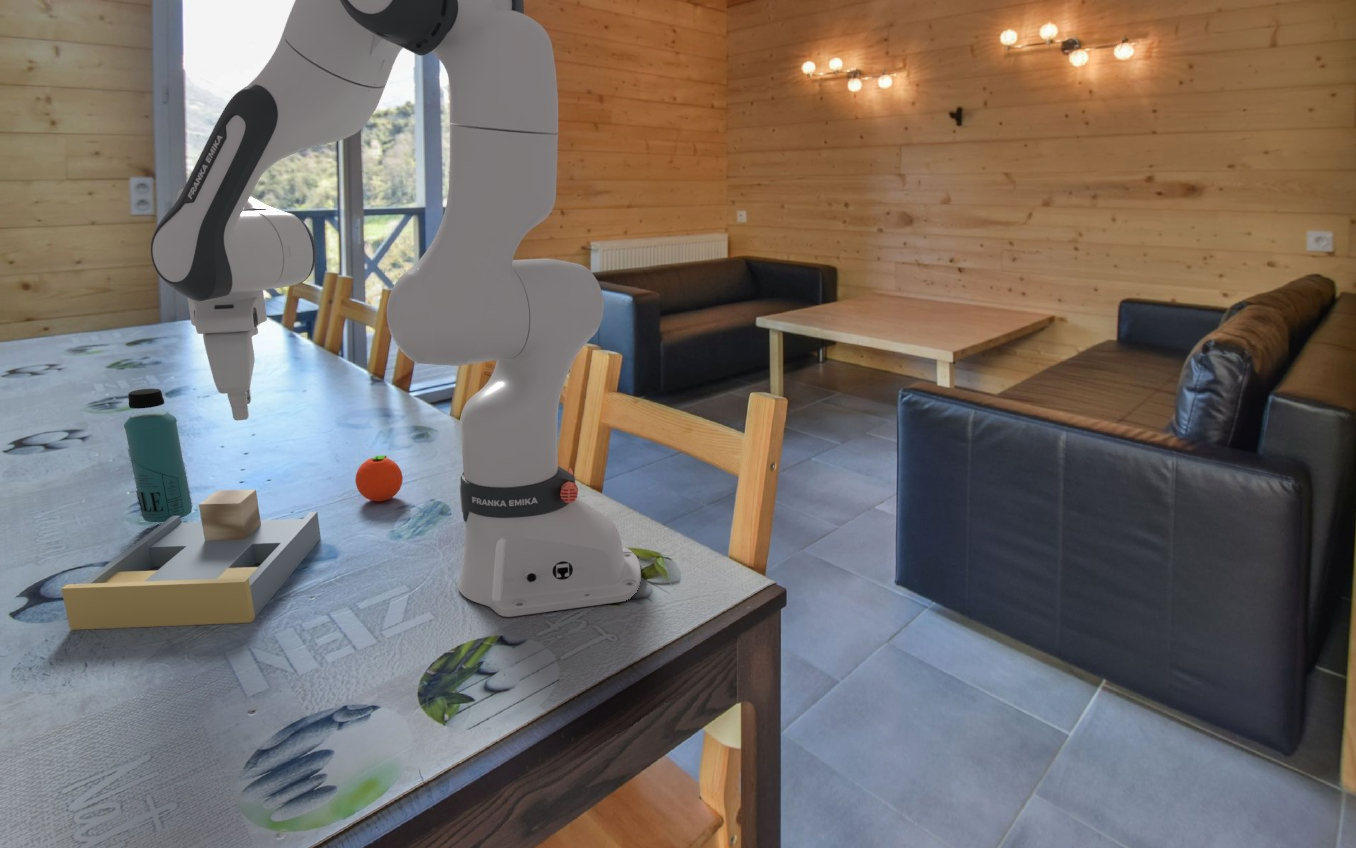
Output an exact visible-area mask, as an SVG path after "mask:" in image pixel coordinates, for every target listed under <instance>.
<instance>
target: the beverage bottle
mask: <svg viewBox="0 0 1356 848" xmlns="http://www.w3.org/2000/svg"><path fill="white" fill-rule="evenodd" d="M127 395H128V398H127V399H128V406H129V408H130V409H148V408H149V409H151V408H155V407H159V406H162V405H165V399H164V396H163V393H162V390H161V389H160V388H142V389H135V390H132V391H129V392H128V394H127ZM123 427H124V431H125V434H126V440H127V446H126V449H127V452H128V456H129V461H130V465H131V468H132V471H133V480H134V483H135V492H136V497H137V504H138V506H139V507H138V508H139V512H140V517H142V518H143V520H144V521H145V522H149V523H163V522H165V521H166V520H168V519H169V518H170V517H172V516H180V518H181V519H182V518H185V517H186V516H189V514H190V513H191V512H192V510H193V509H192V507H193V506H194V505H193V500H192V494H191V493H192V492H191V490H190V489H191V488H190V485H189V480H188V478H189V477H188V475H187V473H188V471H187V469H186V464H185V462H184V459H183V453H182V446H181V442H180V441H181V440H180V435H179V430H178V425H177V418H176V417H175V416H174V415H172V414H171V413H169V412H167V411H165V410H159V409H158V410H147V411H141V412H138V413H137V412H136V413H134V414H131V416H130V417H128V419H127V420H126V421H125V422H124V424H123Z"/></svg>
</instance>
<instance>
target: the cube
mask: <svg viewBox="0 0 1356 848" xmlns="http://www.w3.org/2000/svg"><path fill="white" fill-rule="evenodd" d="M198 508H199V514H200V520H201V521H200V522H202V527H203V533H204V539H205V541H209V540H240V539H246V538H247V537H248V536H249V535H250V534H251V533H252V532H253V531H254V530H256V529H257V528H258V527H259V526H260V525H261V521H260V520H261V515H260V508H259V502H258V495H257V489H228V490H225V489H224V490H216V491H214V492H213V493H212V494H210V495H209V496H208V497H206V498H205V499H204V500H202V501H201V502H200V503H199V504H198Z"/></svg>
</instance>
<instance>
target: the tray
mask: <svg viewBox="0 0 1356 848" xmlns="http://www.w3.org/2000/svg"><path fill="white" fill-rule="evenodd" d="M318 513H319V512H318V511H309V512H308V513H307V514H306V515H305V517H303V518H291V519H290V518H288V519H285V518H283V519H260V521H261V525H260V526H259V527H258V528H257V529H256V530H254V531H253V532H252V533H251V534H250V535H249V536H248V537H247V538H246V539H240V540H209V541H205V539H204V533H203V527H202V521H188V522H186V521H185V522H182V518H180V516H172V517H170V518H169V519H168V520H166V521H165V522H161V524H159V525H158V526H157V527H155V528H154V529H152V531H150V532H149V533H147V534H146V535H145V536H143V537H142V538H140V539H139V540H138V541H137V542H135V543H134V544H132V545H131V546H130V547H128V548H127V549H126V550H124V551H123V552H122V553H120V554H119V555H118V556H116V557H115V558H114V559H112V560H110V561H109V562H108V563H107V564H106V565H104V566H102V568H100V569H99V570H97V571H96V572H95V573H93V574H92V575H91V576H89V577H88V578H87V579H85V580H84V581H83V582H81V583H66V585H64V586H63V587H61V595H62V599H63V603H64V607H65V611H66V616H67V620H68V624H69V628H70V629H69V630H70V631H77V630H99V629H101V630H102V629H122V628H123V629H124V628H127V629H128V628H149V627H151V628H153V627H173V626H175V627H176V626H177V627H178V626H196V625H200V626H201V625H221V624H222V625H225V624H244V623H245V624H246V623H247V624H249V623H252V622H253V621H254V620H255V619H256V618H257V616H258V615H260V613H261V612H262V611H263V609H264V608H265V607H266V605H267V604H268V603H269V602H270V601H271V599H273V597H274V595H276V593H277V592H278V591H279V590H280V589H281V588H282V586H283V585H284V583H285V582H286V581H287V580H288V579H289V578H290V576H291V575H292V574H293V573H294V572H295V570H296V569H297V568H298V567H299V565H300V564H301V563H302V562H303V561H304V559H305V558H306V557H307V556H308V555H309V553H310V552H311V551H312V550H313V549H314V547H315V546H316V545H317V544H318V543H319V541H320V540H321V539H322V538H321V530H320V523H319V522H320V521H319V515H318Z"/></svg>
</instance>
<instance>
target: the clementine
mask: <svg viewBox="0 0 1356 848" xmlns="http://www.w3.org/2000/svg"><path fill="white" fill-rule="evenodd" d="M354 478H355V485H356V488H357V490H358V492H359V495H361V496H362V497H364V499H367V500H369V501H372V502H384V501H388V500H391V499H392V498H393V497H394V496H396V495H397V494H398V493H399V492H400V490H401V488H402V484H403V480H404V479H403V472H402V470H401V467H400V466H399V465H398V463H397V462H395V461H394V460H392V459H391V458H390V459H389V458H388V457H387V455H376V456H374V457H371V458H368V459H367V460H366V461H364V462H363V463H361V465H360V466H359V467H358V469H357V471H356V474H355V477H354Z"/></svg>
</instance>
